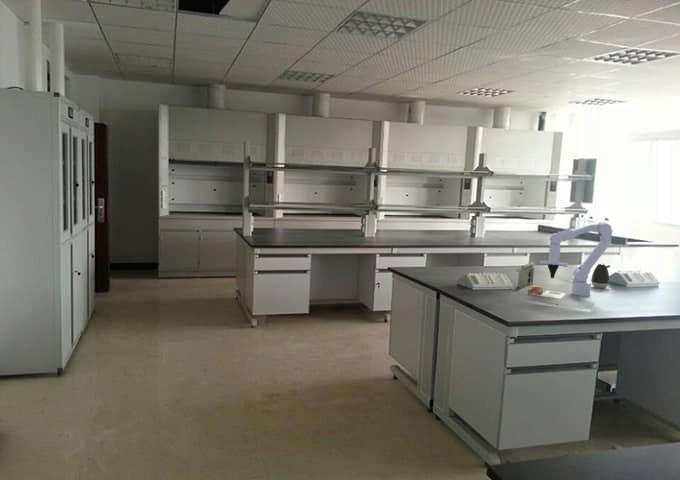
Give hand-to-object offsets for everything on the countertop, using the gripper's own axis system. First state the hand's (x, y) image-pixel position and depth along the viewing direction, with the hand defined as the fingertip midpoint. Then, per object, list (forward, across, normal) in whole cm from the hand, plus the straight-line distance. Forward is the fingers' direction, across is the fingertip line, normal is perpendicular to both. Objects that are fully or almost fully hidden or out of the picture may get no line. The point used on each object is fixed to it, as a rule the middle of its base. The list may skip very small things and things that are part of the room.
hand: (552, 278), depth 303 cm
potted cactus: (+10, +21, +43) cm, 49 cm away
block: (+8, -5, -12) cm, 15 cm away
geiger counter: (+10, -18, +18) cm, 27 cm away
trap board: (+9, -1, -8) cm, 12 cm away
